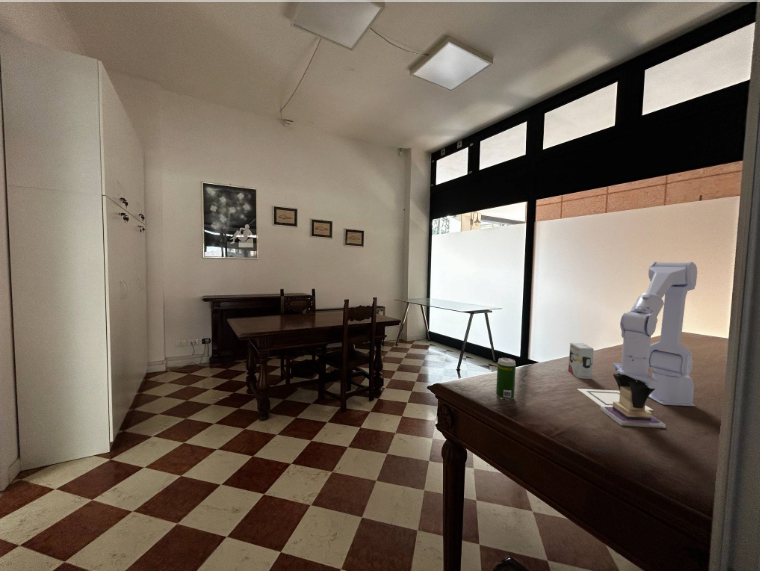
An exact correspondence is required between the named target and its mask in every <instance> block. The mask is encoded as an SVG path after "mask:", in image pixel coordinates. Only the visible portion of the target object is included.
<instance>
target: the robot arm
mask: <svg viewBox="0 0 760 571" xmlns="http://www.w3.org/2000/svg"><path fill="white" fill-rule="evenodd" d="M647 273H648V278H649V281H650V283H649V285H648V287H647V291H646V292H645V293H642V294H640V295H639V296H638V297H637V299H636V301H635V303H634V304H633V306H632V307H631V309H630V311H627V312H624V313H623V314H622V316H621V318H620V322H619V325H620V330H621V331H620V332H621V338H623V339H622V340H623V342H622V353H621V354H622V355H621V363H620V362H618V363H615V362H613V363H612V370H613V371H616V372H617V373H613V378H614V380H615V381H616V384H617V387H618V391H620V386H627V387H630V388H631V391H632V404H633V407H634V408H643V406H644V404H645V405H646V402H647V400H648V398H649V399H652V400H653V401H655V402H657V403H659V404H661V405H665V406H683V407H695V406H696V404H694V403H693V402H694V392H695V384H694V380H693V379H692V377H691V376H690V374H691V373H692V370H693V366H694V365H693V363H694V362H693V352H692V351H691V349H689V348H687V347H686V346H685V345H683V343H682V334H683V326H684V325H683V324H684V316H685V307H686V299H687V294H688V291H693V290H695V289H696V285H697V278H698V267H697V264H696V263H695V262H693V261H689V262H673V261H672V262H671V261H670V262H663V261H662V262H661V261H659V262H657V261H653V262H652V263H651V264H650V265H649V268H648V272H647ZM663 297H664V300H663ZM662 308H663V309H662ZM662 310H663V311H662ZM661 311H662V319H661V328H660V337H659V341H656V342H654V343H651V340H652V336H653V335H654V333H655V331H656V328H657V324H658V321H659V320H658V316H659V315H660V312H661ZM649 368H650V371H652V375H651V374H649Z"/></svg>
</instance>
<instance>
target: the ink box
mask: <svg viewBox="0 0 760 571" xmlns="http://www.w3.org/2000/svg"><path fill="white" fill-rule="evenodd" d="M594 351H595V349H594V347H592V346H589V345H588V344H586V343H583V342H570V343H569V356H568V370H567V371H568V372H569V373H570V374H572V375H573V376H575V377H576V378H577V379H585V380H587V379H588V380H592V377H593V364H594Z"/></svg>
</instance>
